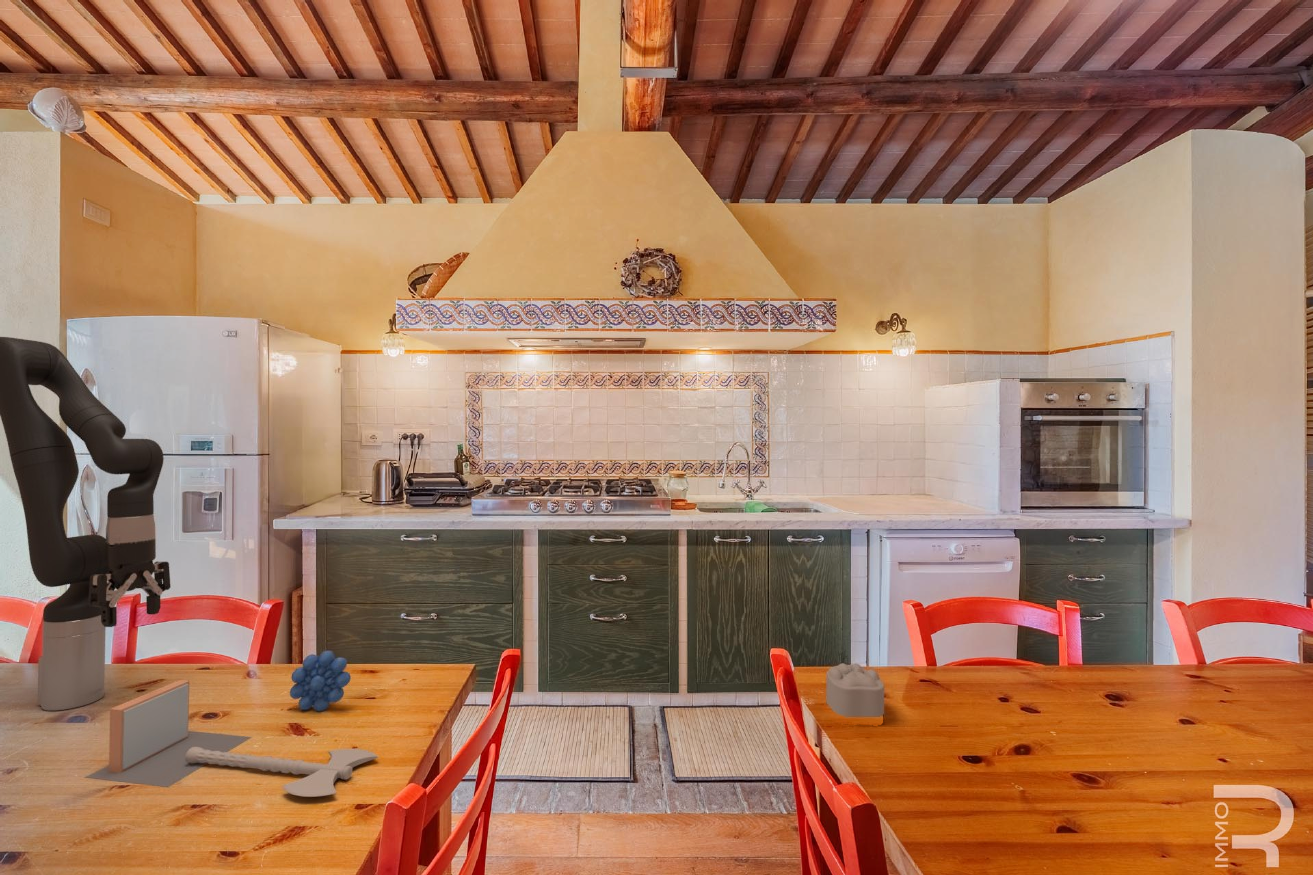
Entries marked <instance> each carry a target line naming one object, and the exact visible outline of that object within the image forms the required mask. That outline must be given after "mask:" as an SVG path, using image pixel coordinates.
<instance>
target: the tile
mask: <svg viewBox="0 0 1313 875" xmlns="http://www.w3.org/2000/svg"><path fill="white" fill-rule="evenodd" d="M189 705H190V681H189V680H184V679H183V680H182V679H179V680H176V681H173V682H171V683H169V684H167V685H164V686H162V687H160V688H157V689H155V690H151V691H150V692H147V693H145V694H143V695H140V696H138V697H136V698H133V699H131V700H128V701H126V702H124V703H121V704H119V705H116V706H114V707H112V708H110V709H109V740H108V742H109V744H108V745H109V747H108V748H109V749H108V750H109V751H108V754H109V755H108V757H109V758H108V765H109V772H115V773H121V772H122V771H124V770H126V769H128V768H130V767H132V766H134V765H136V764H138V763H140V762H141V761H143V760H145V759H147V758H149V757H151V756H153V755H155V754H157V753H159V752H161V751H162V750H164V749H166V748H168V747H170V746H172V745H174V744H176V743H178V742H180V741H181V740H183V739H185V738H187V737H188V731H189V720H190V719H189V718H190V717H189V715H190V712H189V710H190V709H189V707H190V706H189Z"/></svg>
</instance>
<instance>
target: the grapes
mask: <svg viewBox="0 0 1313 875" xmlns="http://www.w3.org/2000/svg"><path fill="white" fill-rule="evenodd" d="M347 664H348V660H347V659H346V658H345V657H343V656H340V657H336V658H335V654H334V652H333V651H332V650H324V651H322V652H321V653H320V655H319V656H318V655H317V654H315V653H314V654H309V655H306V657H305V658H304V659H303V660H302V666H300V667H298V668H296V669H294V670H293V672H292V673H291V677H290V678H291V682H293V683H294V685H292V686H291V688H290V689H289V690H290V691H289V696H290V697H291V698H292V699H294V700H299V701H298V708H299V709H300V710H302V711H308V710H309V709H311V708H313V709H314V711H316V712H323V711H325V710H327V709H328V708H329V706H330V703H333V704H334V703H335V704H336V703H338V702H340V701H341V700H342V698H343V697H344V694H345V691H344V687H346V686H348V685H349V683H350V681H351V677H352V676H351V674H350V672H348V671H345V669H346V668H347Z"/></svg>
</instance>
